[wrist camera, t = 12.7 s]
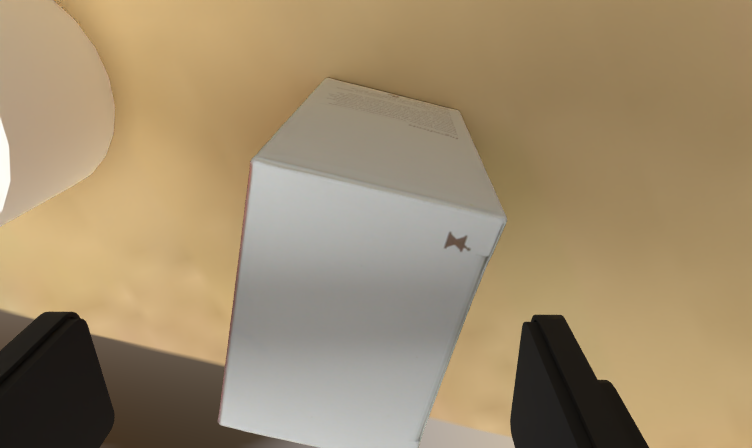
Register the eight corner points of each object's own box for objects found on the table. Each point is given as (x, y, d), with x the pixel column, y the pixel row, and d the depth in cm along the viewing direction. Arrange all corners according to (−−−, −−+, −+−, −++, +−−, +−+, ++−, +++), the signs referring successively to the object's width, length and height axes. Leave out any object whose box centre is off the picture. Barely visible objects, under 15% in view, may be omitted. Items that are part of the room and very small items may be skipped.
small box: (325, 73, 20) (246, 146, 10) (463, 108, 20) (515, 212, 10) (292, 249, 23) (209, 431, 13) (410, 277, 23) (412, 475, 13)
